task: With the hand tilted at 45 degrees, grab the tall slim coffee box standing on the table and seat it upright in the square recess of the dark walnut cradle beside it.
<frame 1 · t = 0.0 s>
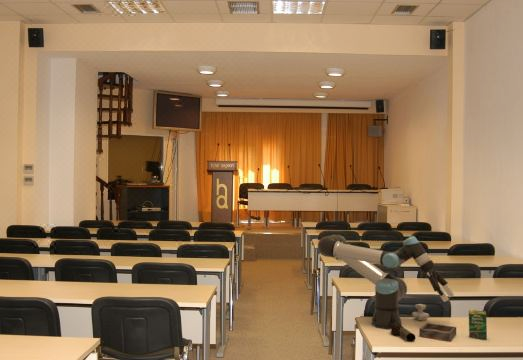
hand: (449, 298, 258), 15 cm above the table, tool tilted 35°, fingers open, 13 cm apart
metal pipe: (400, 337, 241), on the table
walnut cradle: (437, 335, 244), on the table
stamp: (420, 320, 274), on the table
coffee box: (477, 338, 241), on the table
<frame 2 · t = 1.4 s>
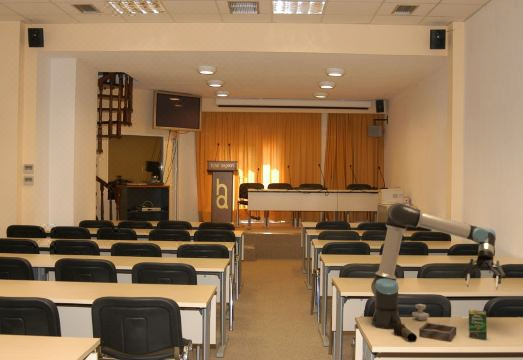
hand: (481, 286, 251), 23 cm above the table, tool tilted 45°, fingers open, 13 cm apart
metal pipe: (403, 337, 242), on the table
everything else where it was.
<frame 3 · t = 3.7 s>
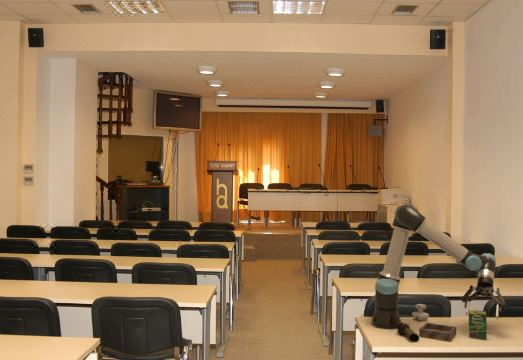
hand: (481, 315, 244), 10 cm above the table, tool tilted 45°, fingers open, 13 cm apart
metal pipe: (406, 337, 241), on the table
everything else where it was.
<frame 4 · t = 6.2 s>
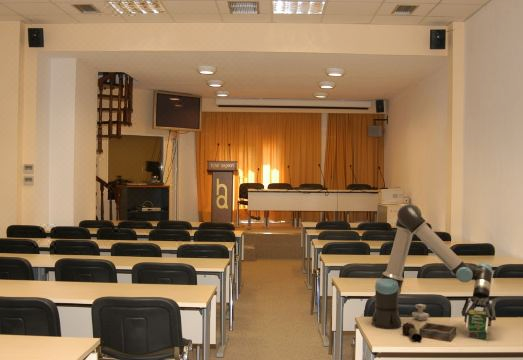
hand: (476, 329, 238), 5 cm above the table, tool tilted 45°, fingers closed on coffee box, 8 cm apart
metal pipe: (410, 337, 241), on the table
coffee box: (477, 338, 241), on the table, touching gripper
everything else where it was.
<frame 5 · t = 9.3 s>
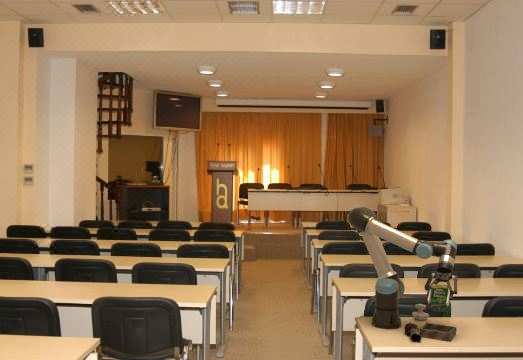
hand: (437, 303, 241), 16 cm above the table, tool tilted 45°, fingers closed on coffee box, 8 cm apart
coffee box: (439, 311, 244), point 12 cm above the table, touching gripper
when the fingers open (7 cm above the table, at t = 12.4 s): coffee box drops 1 cm, resting on walnut cradle.
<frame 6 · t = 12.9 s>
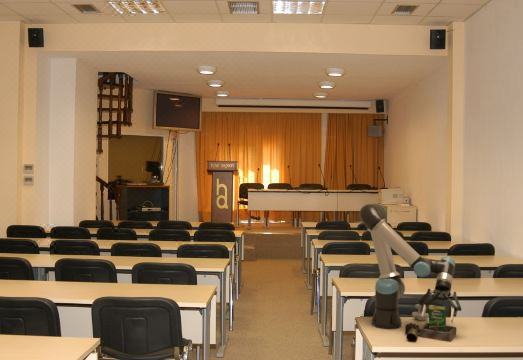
hand: (437, 319, 242), 8 cm above the table, tool tilted 45°, fingers open, 13 cm apart
coffee box: (437, 333, 244), point 1 cm above the table, touching walnut cradle
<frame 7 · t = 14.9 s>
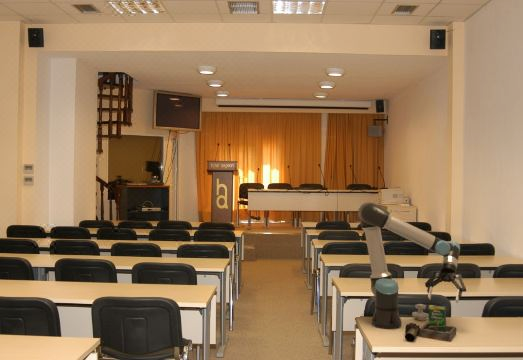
hand: (442, 299, 253), 16 cm above the table, tool tilted 45°, fingers open, 13 cm apart
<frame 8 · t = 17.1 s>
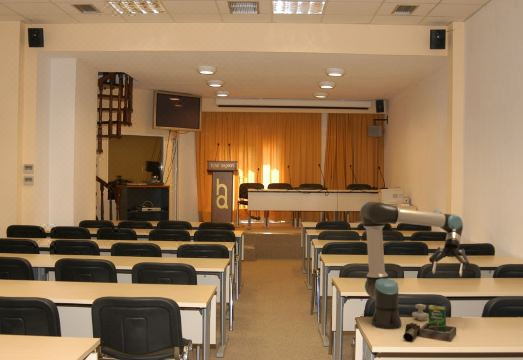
hand: (446, 273, 261), 28 cm above the table, tool tilted 45°, fingers open, 13 cm apart
at the end: coffee box 0.4 cm off-centre on the walnut cradle, point 1.0 cm above the walnut cradle's base; coffee box tilted 0°; the gripper is holding nothing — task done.
